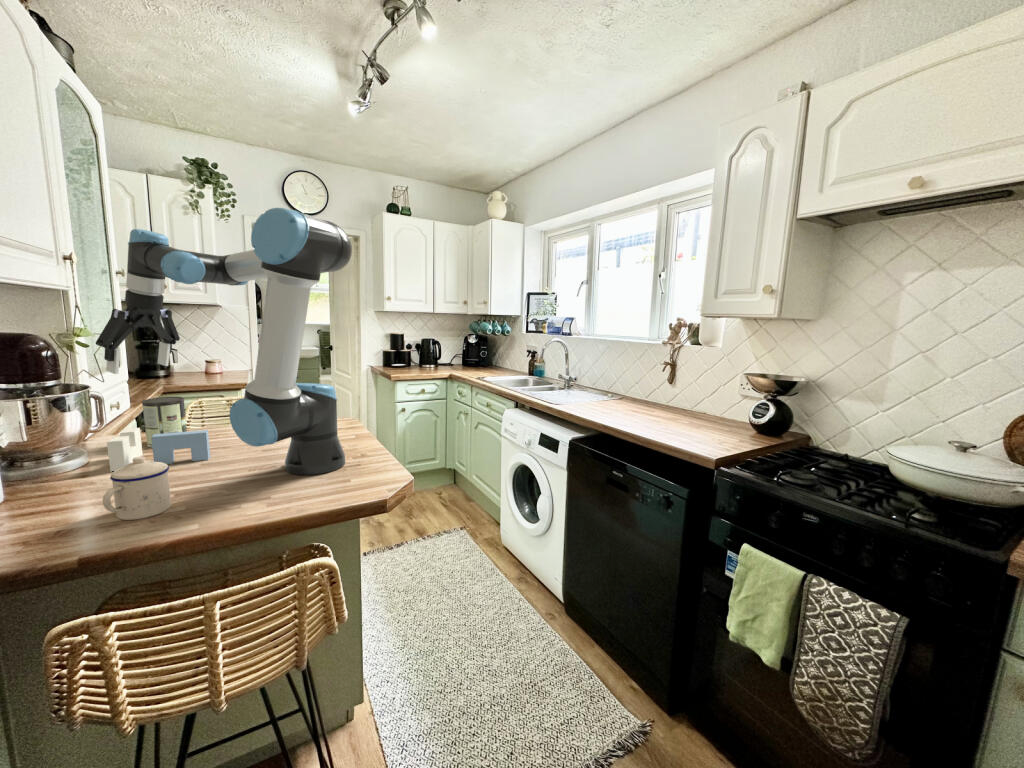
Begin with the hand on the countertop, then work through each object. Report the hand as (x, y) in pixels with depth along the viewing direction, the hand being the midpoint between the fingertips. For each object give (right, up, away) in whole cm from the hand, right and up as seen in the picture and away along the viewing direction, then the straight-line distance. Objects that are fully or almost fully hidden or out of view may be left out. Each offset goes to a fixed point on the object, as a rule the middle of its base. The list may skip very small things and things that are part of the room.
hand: (139, 368), depth 115 cm
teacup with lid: (+25, -31, -28) cm, 49 cm away
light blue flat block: (+10, -26, +3) cm, 28 cm away
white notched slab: (-4, -26, +1) cm, 26 cm away
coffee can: (-7, -23, +19) cm, 31 cm away
